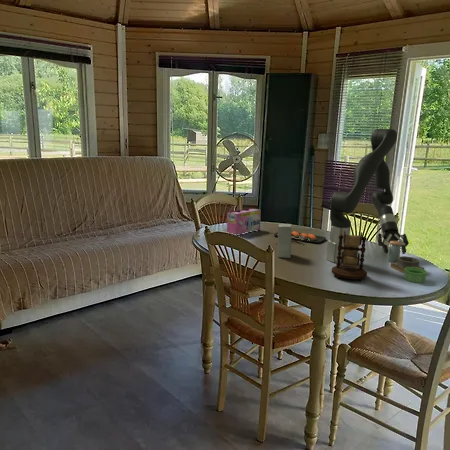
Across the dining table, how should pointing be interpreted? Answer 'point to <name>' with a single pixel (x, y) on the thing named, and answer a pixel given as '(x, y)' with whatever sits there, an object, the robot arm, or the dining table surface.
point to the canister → (394, 251)
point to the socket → (405, 263)
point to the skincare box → (284, 240)
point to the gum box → (243, 221)
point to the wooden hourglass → (350, 257)
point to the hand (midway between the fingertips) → (395, 253)
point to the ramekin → (415, 274)
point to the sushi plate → (305, 237)
